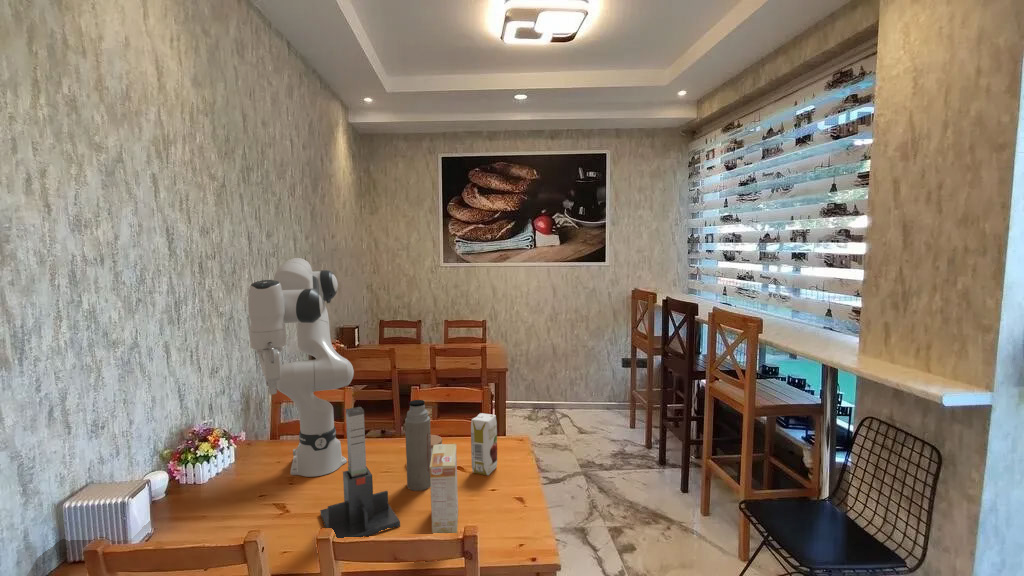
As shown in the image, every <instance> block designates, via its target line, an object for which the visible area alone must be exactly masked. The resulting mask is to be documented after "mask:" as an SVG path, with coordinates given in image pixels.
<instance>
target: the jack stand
mask: <svg viewBox="0 0 1024 576" xmlns="http://www.w3.org/2000/svg"><path fill="white" fill-rule="evenodd" d="M366 468H367V472H366V475H365V476H361V477H357V478H353V479H350V477H349V470H348V469H347V470H344V471H342V481H343V500H344V501H342V502H338V503H334V504H331V505H328V506H327V508H323V509H320V510H319V512H320V516H321V517H320V518H321V520H322V519H323V520H322V522H323V521H324V523H323V525H324V524H325V525H324V527H326V528H332V529H333V530H334V532H335V534H336V537H337V538H344V537H363V536H367V537H370V536H373V535H376V533H377V534H379V533H378V532H379V531H381V530H385V529H387V528H393V527H396V528H398V526H399V527H400V526H401V520H400V519H399V518H398V516H397V514H396V513H395V512H394V510H393V509H392V507H391V505H390V504H389V492H388V490H383V491H379V492H376V493H374V487H373V474H372V472H370V469H369V468H368V466H367V465H366ZM326 528H325V529H326ZM393 529H394V528H393Z"/></svg>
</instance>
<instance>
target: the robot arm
mask: <svg viewBox="0 0 1024 576" xmlns="http://www.w3.org/2000/svg"><path fill="white" fill-rule="evenodd" d="M338 285H339V282H338V279H337V277H336V276H335V273H334V272H333V271H331V270H329V269H328V270H327V269H323V270H322V269H321V270H320V271H313V269H312V265H311V264H310V262H309V261H307V260H306V259H304V258H303V257H302V258H300V257H294V258H290V259H288V260H286V261H285V262H283V263H282V264H281V265H280V266H279V267H278V269H277V270H276V271H275V273H274V275H273V279H262V280H258V281H254V282H253V283H250V285H249V289H248V303H247V304H248V306H247V307H248V308H247V309H248V311H247V312H248V317H249V319H250V326H249V342H250V348H251V349H253V350H255V353H256V355H258V360H259V364H260V367H261V370H262V372H263V376H264V379H265V384H266V386H267V387H268V393H269V395H276V394H277V393H278V392H280V393H282V394H283V395H284V396H287V398H289V399H290V400H291V401H292V402H293V404H294V405H295V407H296V408H297V412H298V419H299V424H300V425H299V427H300V428H299V429H300V430H299V432H298V433H299V435H298V439H299V440H298V441H299V443H298V444H297V445H298V446H297V447H296V448H294V449H292V455H293V458H292V462H291V466H290V475H291V476H301V477H309V478H312V477H319V476H325V475H328V474H330V473H333V472H335V471H338V469H339V468H340V467H341V466H343V465H345V464H346V463H348V458H346V457H345V456H343V455H342V453H343V452H342V444H341V440H339V439H338V438H337V437H336V436H337V435H336V433H337V430H336V426H335V419H334V418H335V417H334V416H335V414H334V407H333V405H332V404H331V403H330V402H329V401H328V400H325V399H322V398H319V397H318V396H316V395H315V394H314V392H321V391H328V390H337V389H341V388H344V387H348V386H349V385H350V384H351V382H352V380H353V378H354V375H355V371H354V370H355V369H354V367H353V364H352V362H351V361H350V360H348V359H347V358H346V357H344V356H342V355H341V354H340V353H338V352H337V351H336V350H335V348H334V346H333V344H332V338H331V330H330V317H329V312H328V309H327V306H326V304H330V303H331V302H332V299H334V298H335V296H336V294H337V293H338V287H339V286H338ZM292 323H293V324H294V323H296V324H297V327H296V331H297V334H296V335H297V337H296V338H297V347H298V349H299V350H300V351H301V352H303V353H304V354H306V355H309V356H312V357H314V358H315V359H307V360H295V361H290V362H287V363H283V364H281V358H280V353H281V352H282V351H283V349H282V348H283V347H284V346H286V345H288V344H287V328H286V324H292Z"/></svg>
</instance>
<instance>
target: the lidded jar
mask: <svg viewBox="0 0 1024 576" xmlns="http://www.w3.org/2000/svg"><path fill="white" fill-rule="evenodd" d="M437 444H443V438H442V437H441V436H440V435H436V434H431V456H432V450H433V445H437Z"/></svg>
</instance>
